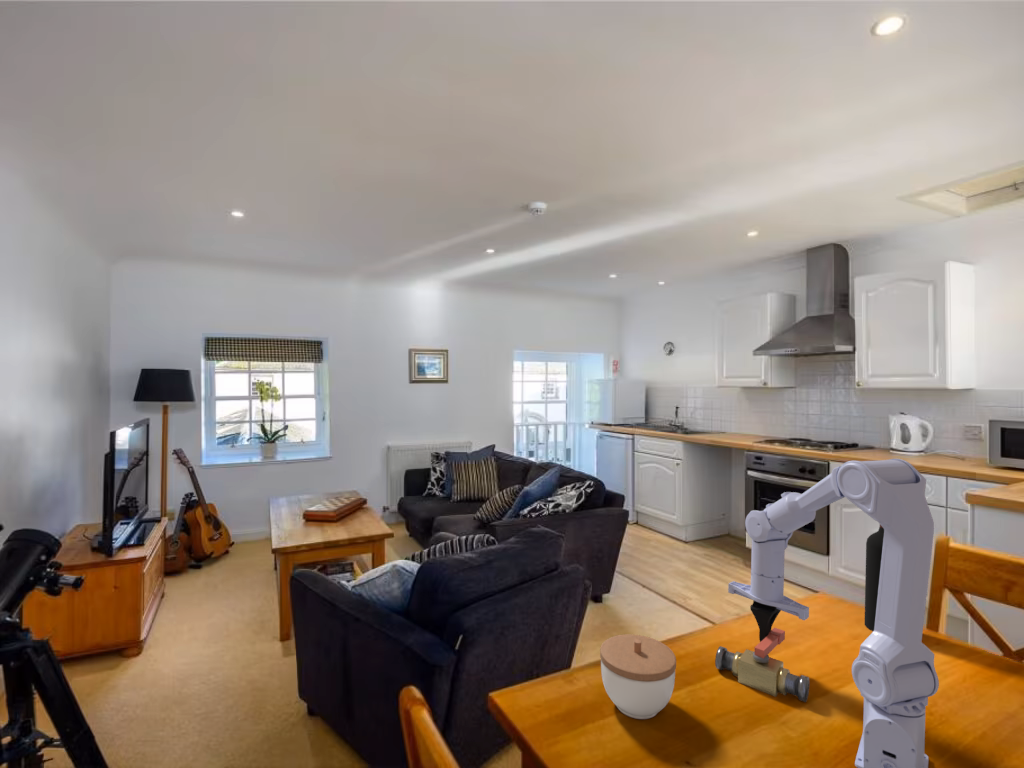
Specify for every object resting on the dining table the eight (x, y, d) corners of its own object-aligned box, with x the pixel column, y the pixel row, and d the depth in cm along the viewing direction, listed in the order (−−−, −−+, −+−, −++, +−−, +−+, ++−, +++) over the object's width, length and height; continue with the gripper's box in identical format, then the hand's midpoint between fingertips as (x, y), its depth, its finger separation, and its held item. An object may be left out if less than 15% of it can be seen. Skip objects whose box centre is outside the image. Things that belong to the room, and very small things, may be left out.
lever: (765, 664, 91) (765, 652, 91) (750, 658, 93) (750, 646, 93) (786, 643, 98) (786, 631, 98) (772, 638, 100) (772, 626, 100)
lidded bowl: (644, 676, 95) (644, 618, 94) (691, 719, 83) (693, 652, 83) (585, 692, 90) (586, 630, 90) (628, 739, 78) (629, 669, 78)
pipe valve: (809, 695, 90) (810, 671, 90) (803, 708, 86) (804, 683, 86) (723, 662, 100) (723, 641, 99) (714, 673, 96) (714, 650, 96)
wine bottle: (857, 624, 115) (859, 494, 115) (876, 618, 119) (879, 491, 118) (893, 640, 109) (896, 501, 108) (913, 633, 112) (916, 498, 111)
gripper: (816, 579, 95) (814, 650, 95) (741, 556, 106) (739, 620, 106) (800, 589, 90) (798, 664, 90) (723, 564, 101) (721, 630, 102)
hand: (765, 641), depth 98 cm, fingers closed, pressing on lever
